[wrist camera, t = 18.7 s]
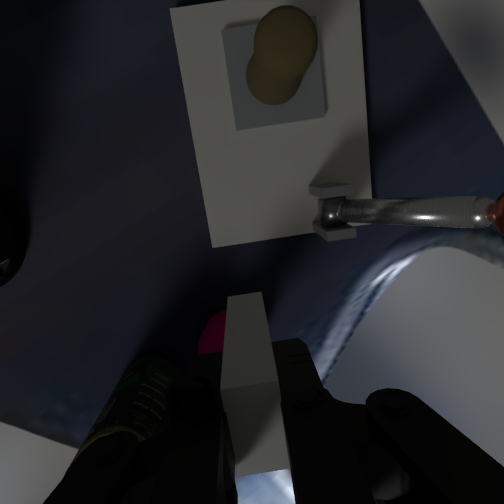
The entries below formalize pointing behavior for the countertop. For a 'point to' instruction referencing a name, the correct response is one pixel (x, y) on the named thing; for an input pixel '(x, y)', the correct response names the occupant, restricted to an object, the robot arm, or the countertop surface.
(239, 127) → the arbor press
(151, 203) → the countertop surface
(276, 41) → the cork
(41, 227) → the countertop surface
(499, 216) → the press lever
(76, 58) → the countertop surface
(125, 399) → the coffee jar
